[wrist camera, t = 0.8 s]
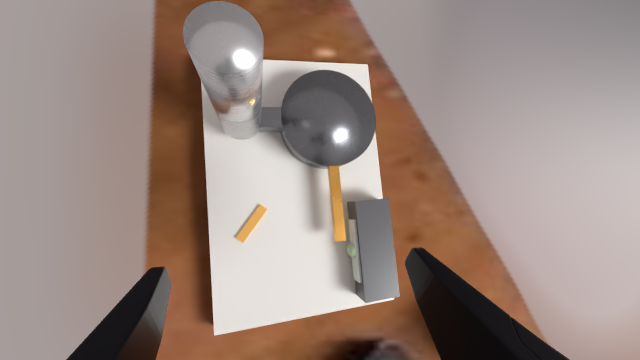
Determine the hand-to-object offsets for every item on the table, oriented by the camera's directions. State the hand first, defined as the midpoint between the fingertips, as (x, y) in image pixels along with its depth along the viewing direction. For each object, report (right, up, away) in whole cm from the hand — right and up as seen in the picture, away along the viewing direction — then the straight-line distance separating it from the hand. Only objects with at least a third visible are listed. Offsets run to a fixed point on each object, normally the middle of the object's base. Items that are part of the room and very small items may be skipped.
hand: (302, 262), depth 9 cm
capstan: (-1, +5, +12) cm, 13 cm away
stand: (-1, +3, +14) cm, 14 cm away
